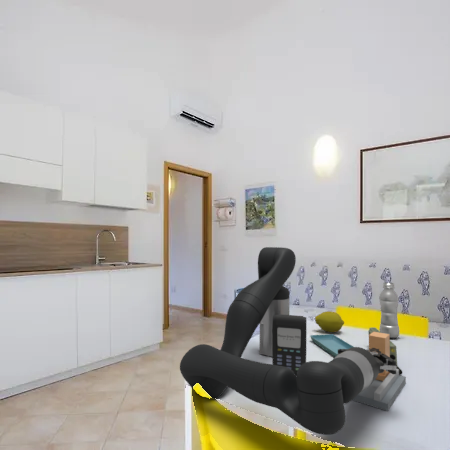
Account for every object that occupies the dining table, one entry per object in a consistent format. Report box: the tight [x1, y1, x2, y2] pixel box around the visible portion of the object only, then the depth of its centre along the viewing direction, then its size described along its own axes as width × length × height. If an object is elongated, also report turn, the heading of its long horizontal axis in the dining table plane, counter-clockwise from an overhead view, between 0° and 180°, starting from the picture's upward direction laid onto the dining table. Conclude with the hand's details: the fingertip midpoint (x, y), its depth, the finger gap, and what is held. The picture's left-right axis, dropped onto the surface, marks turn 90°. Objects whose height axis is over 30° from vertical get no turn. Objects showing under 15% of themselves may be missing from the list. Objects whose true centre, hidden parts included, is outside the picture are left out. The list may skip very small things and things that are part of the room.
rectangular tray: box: [309, 333, 354, 358], centre depth 106 cm, size 26×9×2 cm, turn 11°
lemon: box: [314, 310, 345, 334], centre depth 130 cm, size 11×8×8 cm
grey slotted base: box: [352, 369, 407, 412], centre depth 80 cm, size 18×10×3 cm, turn 141°
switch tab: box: [368, 332, 391, 381], centre depth 83 cm, size 5×4×10 cm
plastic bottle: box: [378, 282, 400, 339], centre depth 124 cm, size 6×7×20 cm
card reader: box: [271, 314, 308, 375], centre depth 90 cm, size 9×4×15 cm, turn 75°
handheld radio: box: [368, 327, 403, 375], centre depth 100 cm, size 7×3×25 cm
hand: (376, 352), depth 80 cm, fingers closed
